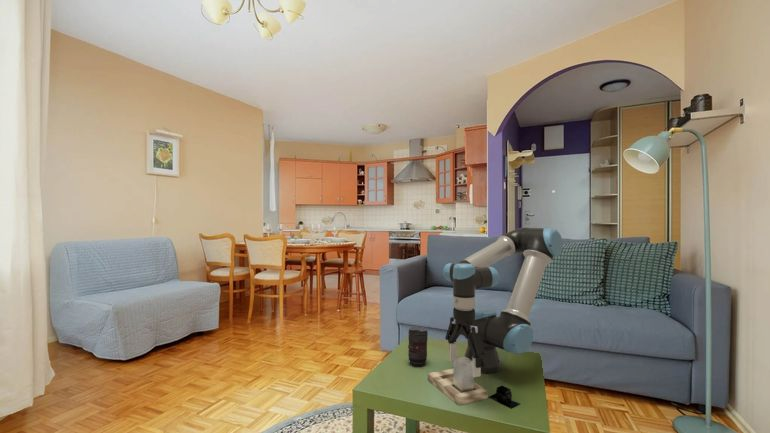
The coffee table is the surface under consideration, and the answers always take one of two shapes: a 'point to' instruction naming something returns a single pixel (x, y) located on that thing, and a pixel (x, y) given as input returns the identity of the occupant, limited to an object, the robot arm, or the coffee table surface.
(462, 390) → the square peg
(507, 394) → the black mounting bracket
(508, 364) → the coffee table surface
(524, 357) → the coffee table surface
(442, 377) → the plate
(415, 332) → the camera lens
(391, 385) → the coffee table surface
